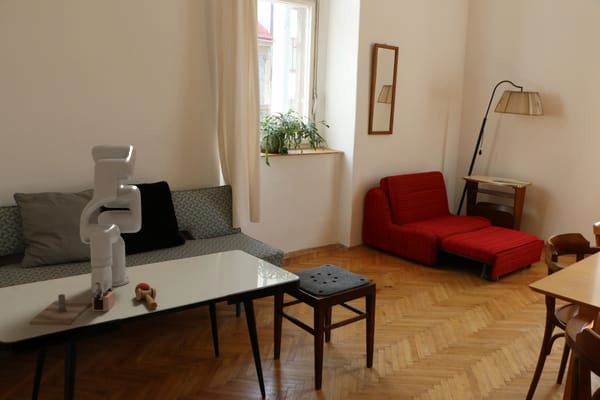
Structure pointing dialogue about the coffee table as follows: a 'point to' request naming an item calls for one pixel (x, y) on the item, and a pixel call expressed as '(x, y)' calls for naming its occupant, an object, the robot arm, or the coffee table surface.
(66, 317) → the post block
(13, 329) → the coffee table surface
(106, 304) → the collar
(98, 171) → the robot arm
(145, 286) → the kendama
